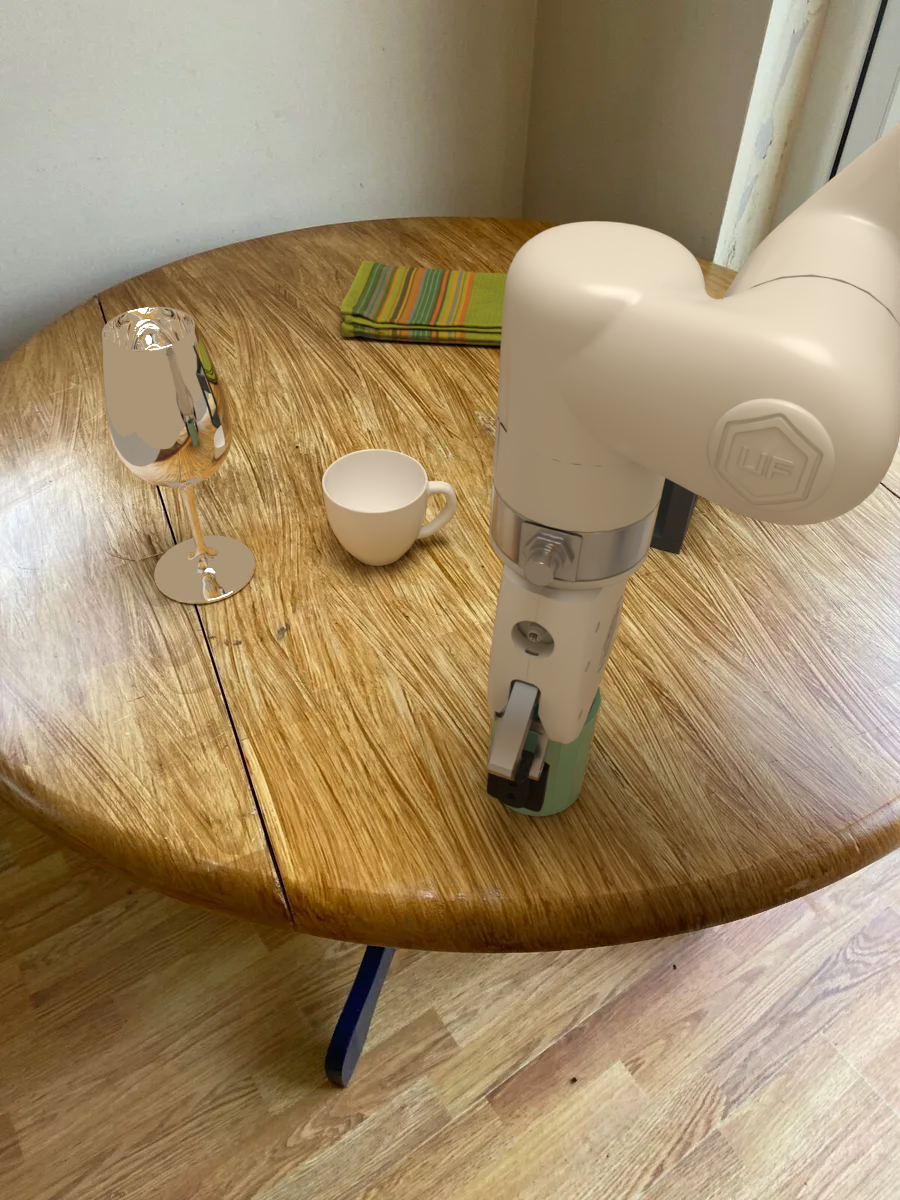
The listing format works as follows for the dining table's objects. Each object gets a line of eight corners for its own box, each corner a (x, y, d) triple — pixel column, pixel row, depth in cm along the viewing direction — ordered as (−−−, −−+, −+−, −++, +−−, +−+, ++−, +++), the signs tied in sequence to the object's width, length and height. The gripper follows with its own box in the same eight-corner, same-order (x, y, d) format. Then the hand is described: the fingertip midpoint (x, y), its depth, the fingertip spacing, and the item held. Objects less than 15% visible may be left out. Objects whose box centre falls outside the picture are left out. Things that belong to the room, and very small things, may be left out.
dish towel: (360, 275, 105) (358, 247, 103) (670, 291, 103) (676, 263, 101) (338, 340, 94) (335, 311, 92) (684, 359, 92) (691, 330, 90)
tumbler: (594, 753, 57) (612, 670, 52) (567, 830, 53) (583, 749, 48) (505, 724, 59) (513, 640, 53) (472, 796, 55) (477, 714, 49)
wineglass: (226, 617, 65) (170, 370, 51) (132, 591, 67) (54, 346, 53) (275, 549, 71) (237, 309, 57) (187, 527, 72) (129, 289, 58)
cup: (326, 521, 73) (319, 452, 69) (448, 511, 74) (449, 442, 70) (331, 586, 68) (324, 516, 63) (463, 574, 69) (466, 504, 64)
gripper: (601, 667, 35) (556, 888, 47) (691, 431, 46) (636, 658, 59) (422, 613, 37) (423, 839, 49) (550, 399, 48) (526, 625, 60)
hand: (539, 739), depth 54 cm, fingers open, 8 cm apart
